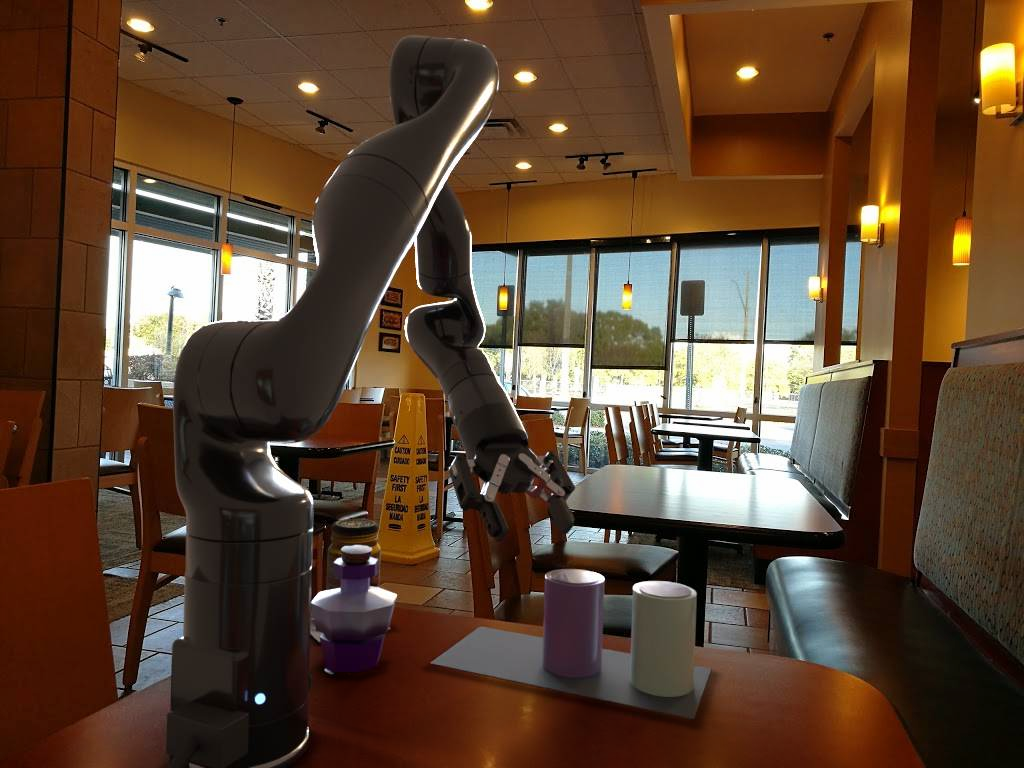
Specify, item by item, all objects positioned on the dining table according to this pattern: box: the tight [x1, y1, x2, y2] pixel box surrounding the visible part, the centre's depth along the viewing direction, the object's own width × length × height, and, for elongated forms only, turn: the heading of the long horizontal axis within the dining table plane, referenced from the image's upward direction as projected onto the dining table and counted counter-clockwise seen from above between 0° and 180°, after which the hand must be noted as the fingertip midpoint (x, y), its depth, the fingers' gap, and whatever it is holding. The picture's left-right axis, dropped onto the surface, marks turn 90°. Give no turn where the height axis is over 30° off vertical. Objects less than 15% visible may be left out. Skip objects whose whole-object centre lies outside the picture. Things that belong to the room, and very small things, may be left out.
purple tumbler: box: [542, 568, 606, 678], centre depth 73 cm, size 6×6×9 cm
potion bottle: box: [311, 545, 398, 676], centre depth 73 cm, size 9×9×12 cm
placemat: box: [429, 625, 713, 720], centre depth 73 cm, size 12×26×1 cm, turn 67°
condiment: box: [310, 518, 392, 643], centre depth 84 cm, size 7×8×12 cm
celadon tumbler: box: [629, 580, 698, 697], centre depth 70 cm, size 6×6×9 cm
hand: (536, 533), depth 79 cm, fingers open, 8 cm apart
